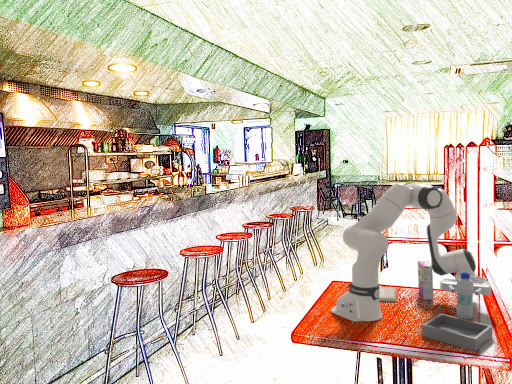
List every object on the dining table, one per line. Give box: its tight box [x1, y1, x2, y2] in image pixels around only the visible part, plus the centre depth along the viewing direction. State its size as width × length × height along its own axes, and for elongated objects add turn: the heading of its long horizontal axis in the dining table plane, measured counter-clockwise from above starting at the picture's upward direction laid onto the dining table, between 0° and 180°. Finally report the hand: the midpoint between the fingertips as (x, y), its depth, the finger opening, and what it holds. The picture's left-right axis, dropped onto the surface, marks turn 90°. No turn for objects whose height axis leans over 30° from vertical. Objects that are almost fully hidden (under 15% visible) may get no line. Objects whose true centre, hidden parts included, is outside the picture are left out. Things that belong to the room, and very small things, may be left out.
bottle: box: [456, 272, 474, 321], centre depth 192 cm, size 7×7×20 cm
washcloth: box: [379, 285, 397, 303], centre depth 225 cm, size 12×18×3 cm, turn 165°
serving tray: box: [421, 313, 493, 352], centre depth 175 cm, size 20×16×4 cm
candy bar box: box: [417, 260, 434, 301], centre depth 221 cm, size 11×5×16 cm, turn 171°
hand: (464, 292), depth 194 cm, fingers open, 8 cm apart
